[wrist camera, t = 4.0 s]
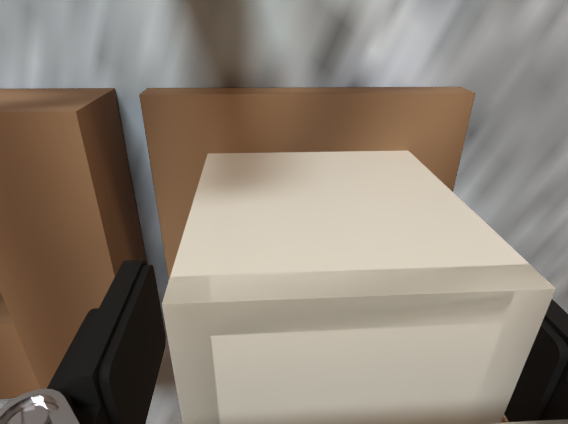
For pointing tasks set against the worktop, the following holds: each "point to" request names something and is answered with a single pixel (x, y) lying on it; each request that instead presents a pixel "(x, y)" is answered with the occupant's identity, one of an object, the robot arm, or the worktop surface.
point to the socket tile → (58, 223)
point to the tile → (292, 132)
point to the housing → (344, 296)
